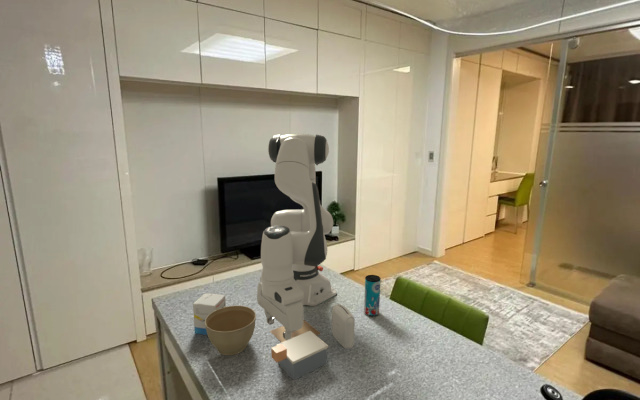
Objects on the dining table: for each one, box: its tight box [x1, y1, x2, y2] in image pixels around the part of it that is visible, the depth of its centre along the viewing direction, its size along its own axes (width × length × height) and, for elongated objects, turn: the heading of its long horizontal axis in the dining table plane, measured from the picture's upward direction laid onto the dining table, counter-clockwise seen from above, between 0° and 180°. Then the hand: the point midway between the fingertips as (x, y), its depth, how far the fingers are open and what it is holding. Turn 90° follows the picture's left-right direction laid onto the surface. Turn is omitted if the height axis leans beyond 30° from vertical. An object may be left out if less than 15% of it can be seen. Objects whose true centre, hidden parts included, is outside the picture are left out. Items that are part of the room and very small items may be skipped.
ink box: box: [192, 292, 227, 336], centre depth 121 cm, size 8×8×12 cm
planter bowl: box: [205, 305, 257, 356], centre depth 110 cm, size 16×16×11 cm
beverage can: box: [363, 274, 381, 317], centre depth 131 cm, size 6×6×15 cm
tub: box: [277, 348, 328, 381], centre depth 102 cm, size 12×9×6 cm
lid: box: [270, 331, 329, 364], centre depth 100 cm, size 16×10×4 cm, turn 127°
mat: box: [269, 318, 322, 343], centre depth 119 cm, size 14×12×1 cm
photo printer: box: [331, 303, 356, 349], centre depth 114 cm, size 10×4×12 cm, turn 26°
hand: (278, 330), depth 95 cm, fingers open, 8 cm apart
